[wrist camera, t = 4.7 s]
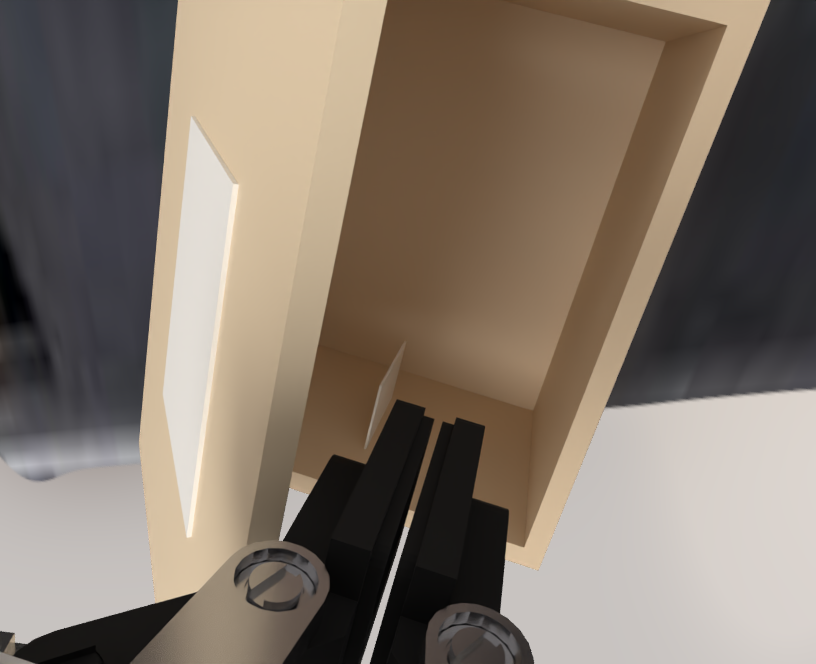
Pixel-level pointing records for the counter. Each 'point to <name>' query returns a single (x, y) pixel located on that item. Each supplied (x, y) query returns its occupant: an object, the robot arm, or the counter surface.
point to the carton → (514, 227)
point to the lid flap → (244, 264)
